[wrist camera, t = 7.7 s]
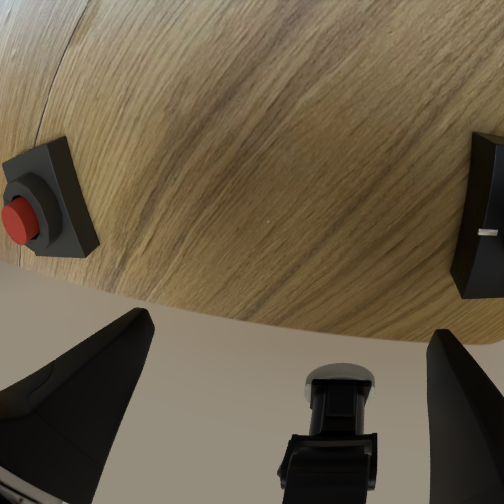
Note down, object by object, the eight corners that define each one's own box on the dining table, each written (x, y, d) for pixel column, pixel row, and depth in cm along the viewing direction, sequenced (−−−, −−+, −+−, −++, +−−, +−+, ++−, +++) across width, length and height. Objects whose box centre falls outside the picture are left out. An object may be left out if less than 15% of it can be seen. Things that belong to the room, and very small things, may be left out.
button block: (100, 244, 24) (73, 270, 21) (49, 244, 26) (24, 266, 23) (65, 135, 19) (29, 151, 16) (17, 155, 21) (-13, 171, 18)
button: (45, 233, 20) (31, 245, 19) (25, 235, 21) (12, 245, 20) (30, 193, 18) (15, 203, 17) (10, 198, 19) (-4, 208, 18)
